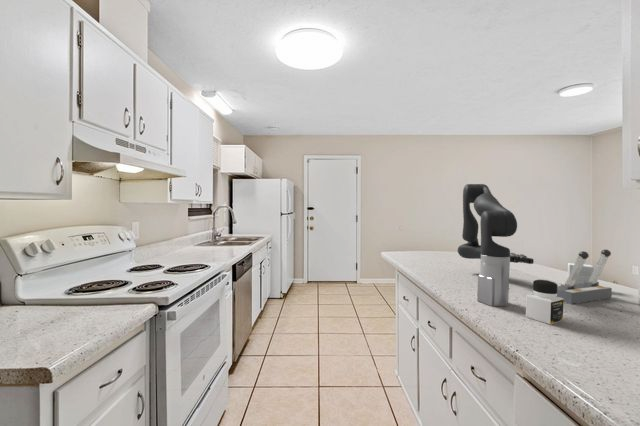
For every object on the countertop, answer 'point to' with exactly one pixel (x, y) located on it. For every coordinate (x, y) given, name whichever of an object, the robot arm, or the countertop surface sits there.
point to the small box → (581, 273)
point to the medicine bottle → (544, 303)
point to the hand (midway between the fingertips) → (532, 261)
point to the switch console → (583, 292)
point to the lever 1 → (576, 269)
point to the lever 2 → (599, 266)
